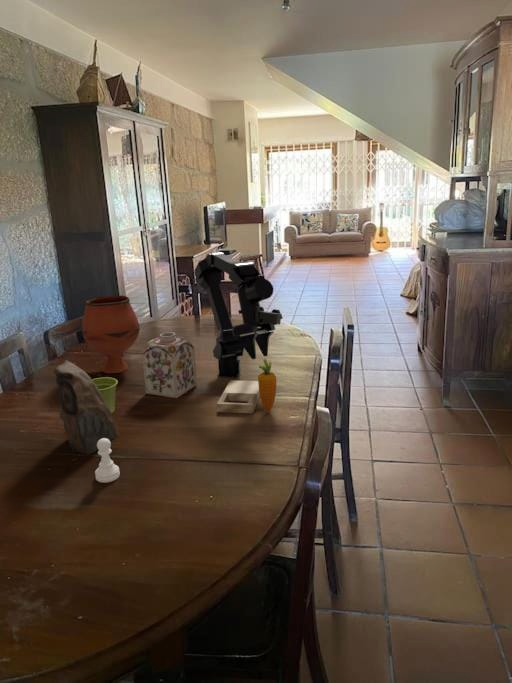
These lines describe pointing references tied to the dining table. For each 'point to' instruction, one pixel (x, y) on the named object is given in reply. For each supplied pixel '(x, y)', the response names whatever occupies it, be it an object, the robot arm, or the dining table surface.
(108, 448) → the chess pawn
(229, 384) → the open matchbox
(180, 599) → the dining table surface
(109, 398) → the plant pot
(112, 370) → the goblet
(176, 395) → the decorative jar
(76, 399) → the owl
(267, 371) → the carrot
